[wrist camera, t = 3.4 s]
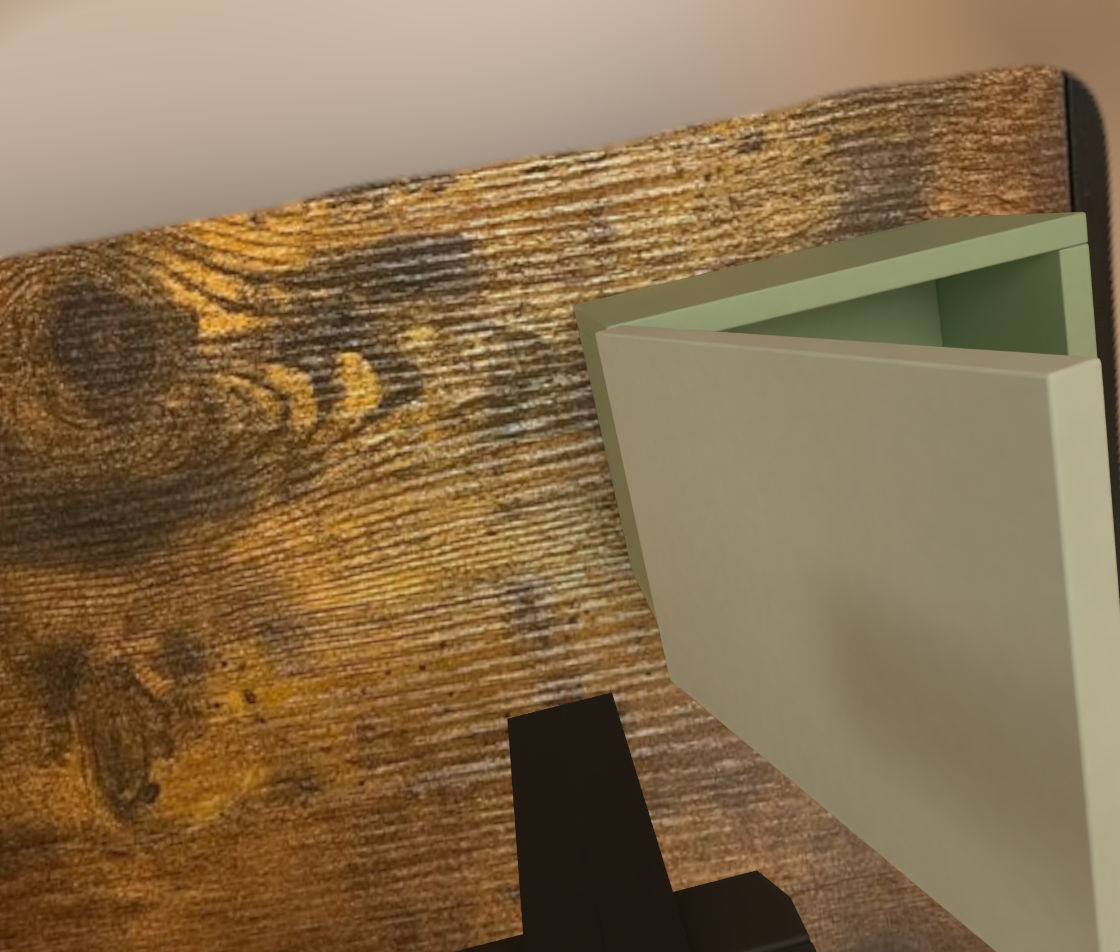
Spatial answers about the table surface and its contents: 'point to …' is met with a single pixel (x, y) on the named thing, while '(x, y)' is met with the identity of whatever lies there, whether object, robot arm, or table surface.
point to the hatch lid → (898, 599)
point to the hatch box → (873, 303)
